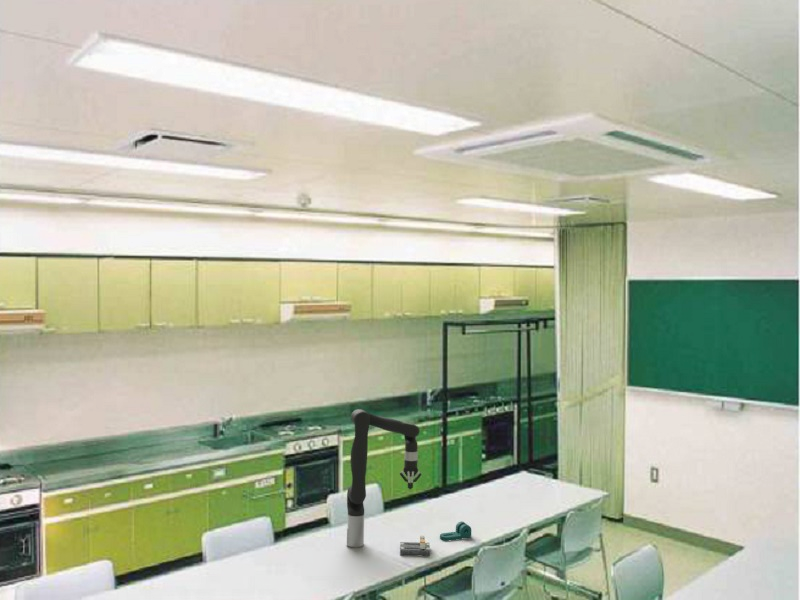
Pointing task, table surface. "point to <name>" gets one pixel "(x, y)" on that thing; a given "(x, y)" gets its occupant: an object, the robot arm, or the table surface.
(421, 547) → the block
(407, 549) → the panel
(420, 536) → the block
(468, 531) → the bracket
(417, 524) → the table surface
